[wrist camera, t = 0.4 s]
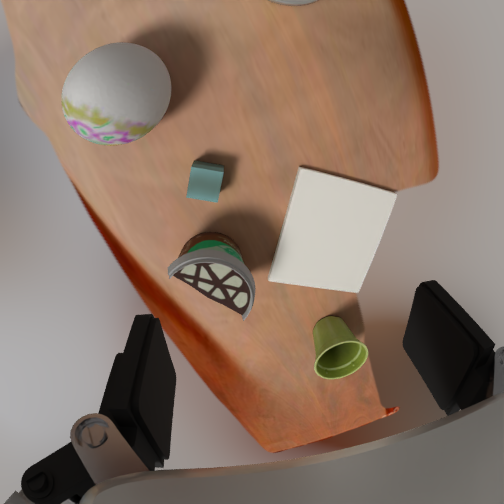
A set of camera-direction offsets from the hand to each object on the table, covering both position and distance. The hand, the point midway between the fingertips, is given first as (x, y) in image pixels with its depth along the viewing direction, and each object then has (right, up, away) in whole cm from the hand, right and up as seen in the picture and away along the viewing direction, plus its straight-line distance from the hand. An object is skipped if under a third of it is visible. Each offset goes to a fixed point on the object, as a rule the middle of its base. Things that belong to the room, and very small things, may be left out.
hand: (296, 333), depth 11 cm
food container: (-6, +4, +37) cm, 37 cm away
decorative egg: (-17, +24, +25) cm, 38 cm away
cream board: (+11, +5, +37) cm, 39 cm away
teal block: (-8, +13, +31) cm, 35 cm away
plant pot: (+13, -11, +46) cm, 49 cm away
